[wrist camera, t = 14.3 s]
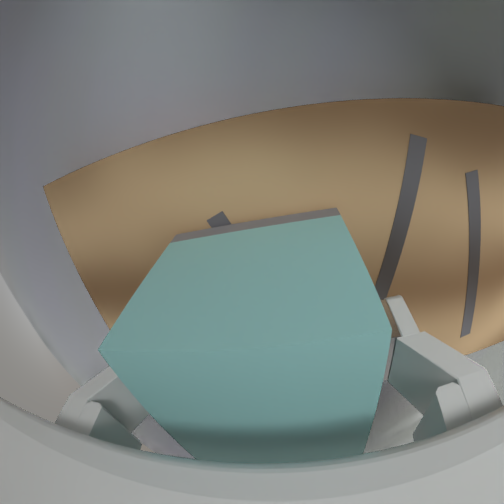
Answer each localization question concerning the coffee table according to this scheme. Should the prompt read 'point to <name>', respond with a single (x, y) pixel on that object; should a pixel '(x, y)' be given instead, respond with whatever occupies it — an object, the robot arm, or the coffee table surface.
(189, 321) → the block
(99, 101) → the coffee table surface
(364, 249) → the board
